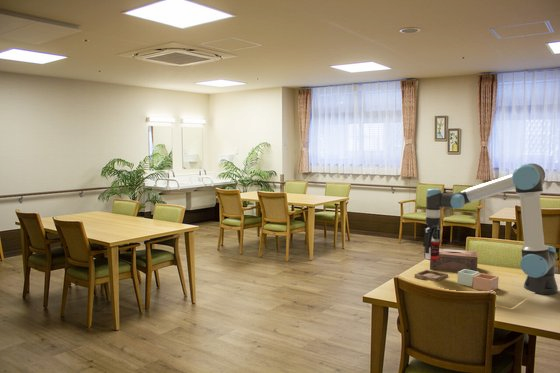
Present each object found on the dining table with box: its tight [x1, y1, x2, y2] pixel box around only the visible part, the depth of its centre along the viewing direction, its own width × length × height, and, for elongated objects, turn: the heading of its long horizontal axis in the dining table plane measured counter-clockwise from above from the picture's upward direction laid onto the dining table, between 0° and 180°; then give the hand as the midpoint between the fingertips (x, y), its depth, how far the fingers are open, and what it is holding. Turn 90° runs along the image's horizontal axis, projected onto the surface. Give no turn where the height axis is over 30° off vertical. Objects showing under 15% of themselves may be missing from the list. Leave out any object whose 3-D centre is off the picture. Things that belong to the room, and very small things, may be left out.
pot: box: [472, 272, 499, 292], centre depth 244 cm, size 9×9×7 cm
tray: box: [414, 269, 449, 282], centre depth 266 cm, size 13×13×2 cm
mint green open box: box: [457, 269, 480, 288], centre depth 253 cm, size 8×8×7 cm
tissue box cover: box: [429, 248, 479, 273], centre depth 284 cm, size 26×14×10 cm, turn 67°
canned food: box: [423, 237, 441, 261], centre depth 264 cm, size 8×8×11 cm
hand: (431, 257), depth 265 cm, fingers closed on canned food, 8 cm apart
